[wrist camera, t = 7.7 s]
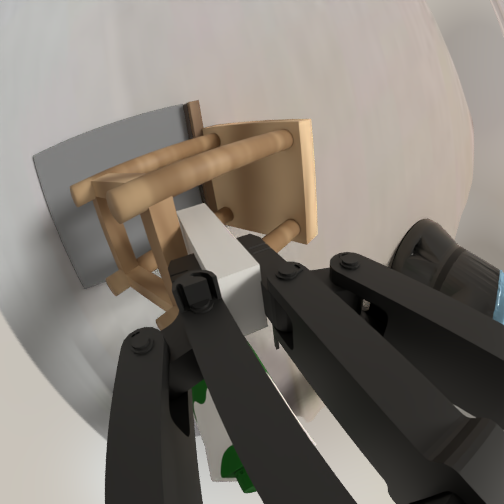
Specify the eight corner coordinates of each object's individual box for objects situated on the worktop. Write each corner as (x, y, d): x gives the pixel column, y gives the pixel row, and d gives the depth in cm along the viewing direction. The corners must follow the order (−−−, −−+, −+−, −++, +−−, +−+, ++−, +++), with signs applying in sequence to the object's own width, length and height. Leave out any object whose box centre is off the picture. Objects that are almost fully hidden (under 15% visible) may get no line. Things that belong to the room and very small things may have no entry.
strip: (195, 101, 21) (198, 100, 20) (222, 241, 28) (226, 246, 27) (186, 103, 20) (189, 102, 19) (214, 243, 28) (218, 248, 27)
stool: (311, 118, 17) (117, 178, 8) (317, 234, 21) (186, 356, 13) (217, 124, 22) (64, 178, 13) (233, 216, 27) (111, 294, 18)
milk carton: (209, 302, 30) (297, 460, 14) (253, 334, 36) (335, 456, 20) (159, 347, 30) (210, 503, 14) (207, 371, 36) (267, 495, 20)
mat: (182, 104, 20) (182, 103, 20) (211, 244, 27) (211, 245, 27) (33, 155, 16) (32, 155, 16) (84, 288, 24) (84, 289, 23)
